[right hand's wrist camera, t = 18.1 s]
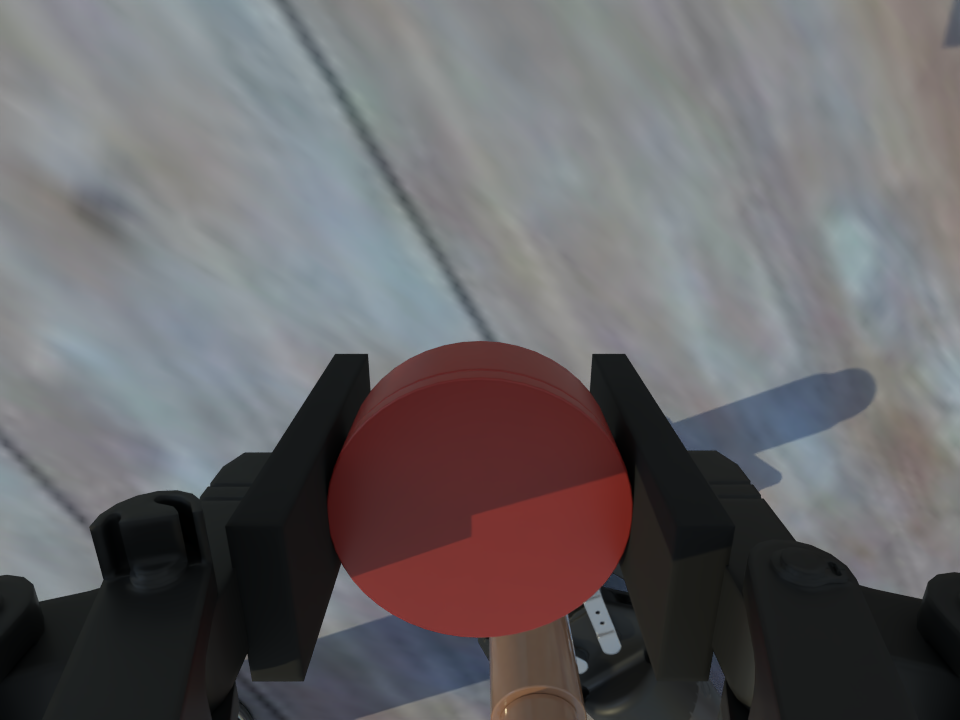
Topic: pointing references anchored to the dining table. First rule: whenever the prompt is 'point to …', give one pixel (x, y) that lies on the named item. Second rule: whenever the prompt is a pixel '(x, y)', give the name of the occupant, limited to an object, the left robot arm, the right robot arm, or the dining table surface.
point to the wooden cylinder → (536, 675)
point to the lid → (479, 492)
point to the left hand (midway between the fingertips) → (496, 538)
